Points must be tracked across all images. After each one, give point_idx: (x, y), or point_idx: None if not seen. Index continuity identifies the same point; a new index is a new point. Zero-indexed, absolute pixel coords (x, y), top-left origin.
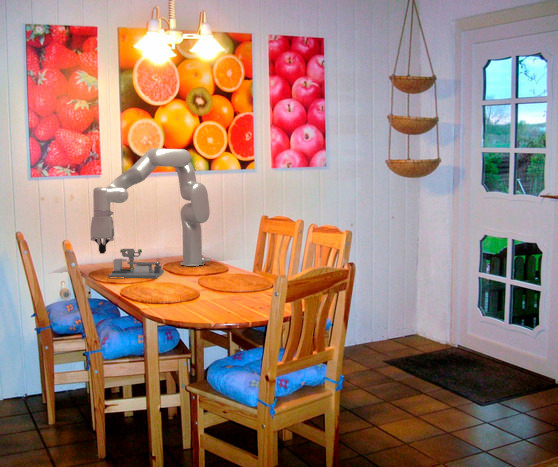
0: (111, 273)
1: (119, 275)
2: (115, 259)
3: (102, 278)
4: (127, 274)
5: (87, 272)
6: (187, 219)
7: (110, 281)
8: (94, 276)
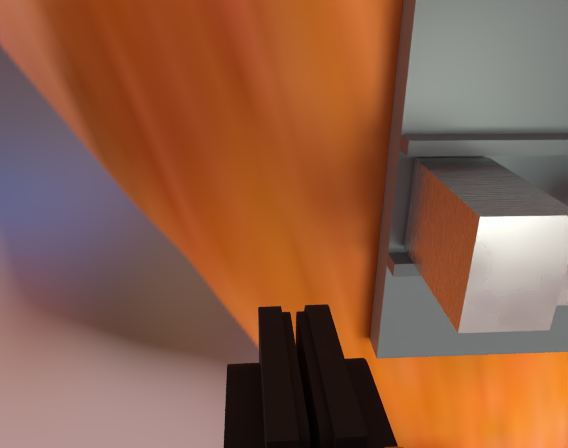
0: (386, 282)
1: (476, 353)
2: (486, 302)
3: None
4: None
5: (4, 17)
6: None
7: (408, 438)
8: (204, 260)
